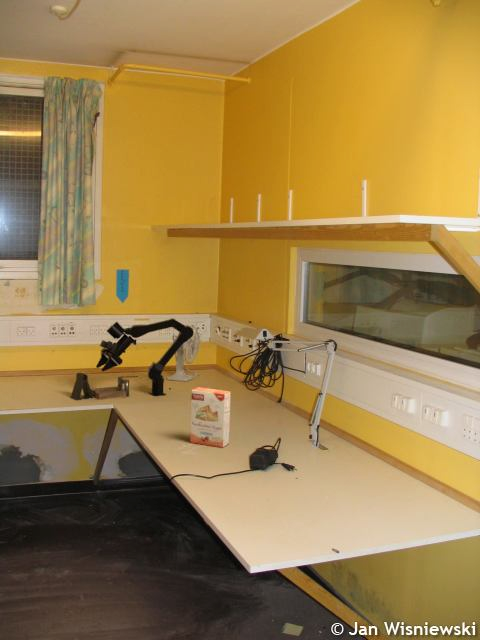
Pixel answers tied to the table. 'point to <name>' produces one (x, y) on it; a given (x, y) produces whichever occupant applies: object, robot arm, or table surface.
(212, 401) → the cracker box
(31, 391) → the table surface
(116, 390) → the cradle
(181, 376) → the pale grey desk fan
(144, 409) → the table surface
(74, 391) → the phone stand
